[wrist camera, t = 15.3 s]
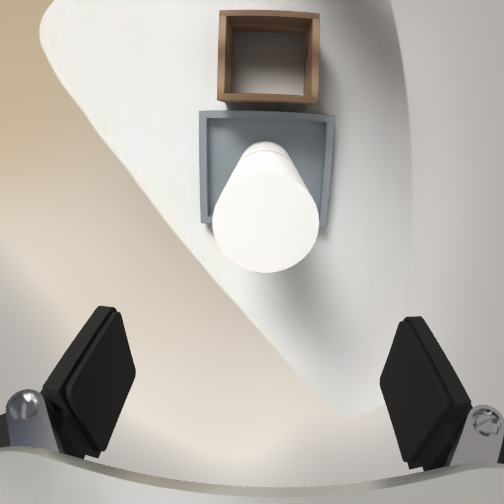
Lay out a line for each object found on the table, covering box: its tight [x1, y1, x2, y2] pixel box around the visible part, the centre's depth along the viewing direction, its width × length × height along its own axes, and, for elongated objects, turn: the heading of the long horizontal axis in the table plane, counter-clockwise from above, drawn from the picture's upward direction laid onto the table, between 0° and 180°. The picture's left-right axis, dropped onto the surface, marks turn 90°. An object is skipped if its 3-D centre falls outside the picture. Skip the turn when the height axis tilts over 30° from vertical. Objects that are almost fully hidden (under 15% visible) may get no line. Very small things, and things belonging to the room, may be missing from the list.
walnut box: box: [217, 10, 320, 105], centre depth 35 cm, size 12×12×8 cm
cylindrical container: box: [212, 141, 319, 273], centre depth 33 cm, size 7×7×25 cm
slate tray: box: [199, 110, 335, 228], centre depth 44 cm, size 16×18×2 cm
